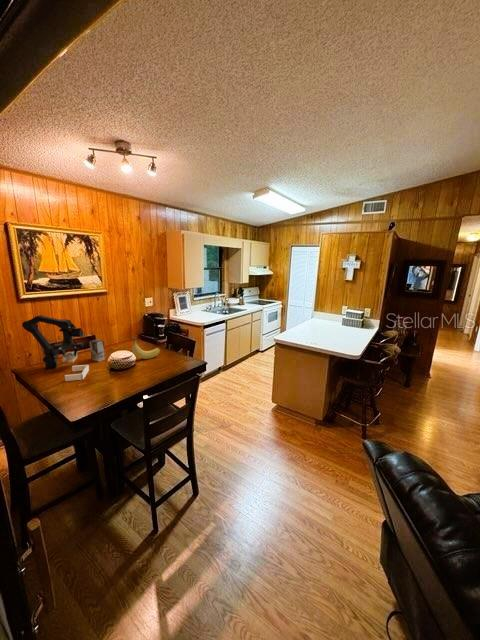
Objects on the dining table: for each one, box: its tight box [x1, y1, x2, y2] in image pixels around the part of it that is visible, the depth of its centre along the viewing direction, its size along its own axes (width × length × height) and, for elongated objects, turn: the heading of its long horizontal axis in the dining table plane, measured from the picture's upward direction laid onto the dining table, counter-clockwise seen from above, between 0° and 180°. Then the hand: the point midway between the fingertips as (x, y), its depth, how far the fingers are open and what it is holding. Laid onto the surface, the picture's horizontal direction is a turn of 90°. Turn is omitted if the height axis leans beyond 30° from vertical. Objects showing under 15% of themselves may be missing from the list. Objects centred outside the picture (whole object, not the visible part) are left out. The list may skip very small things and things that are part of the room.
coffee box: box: [89, 338, 106, 362], centre depth 216 cm, size 9×6×16 cm
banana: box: [131, 337, 161, 360], centre depth 221 cm, size 23×6×20 cm, turn 128°
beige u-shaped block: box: [64, 364, 90, 382], centre depth 188 cm, size 11×17×4 cm, turn 16°
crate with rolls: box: [61, 351, 79, 364], centre depth 199 cm, size 7×12×5 cm, turn 16°
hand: (70, 356), depth 199 cm, fingers closed on crate with rolls, 7 cm apart
